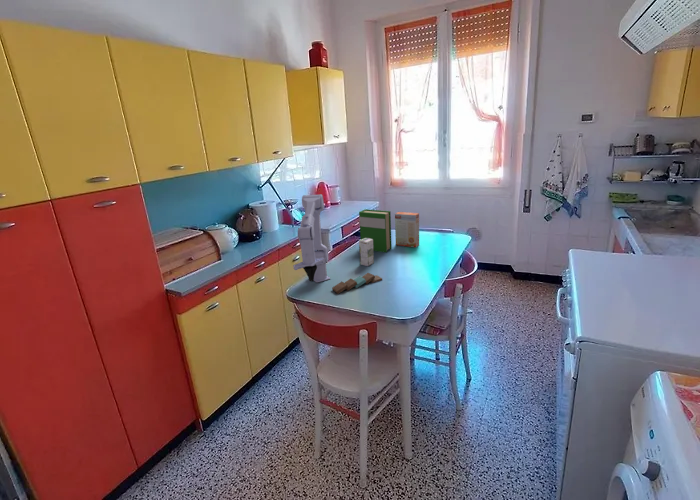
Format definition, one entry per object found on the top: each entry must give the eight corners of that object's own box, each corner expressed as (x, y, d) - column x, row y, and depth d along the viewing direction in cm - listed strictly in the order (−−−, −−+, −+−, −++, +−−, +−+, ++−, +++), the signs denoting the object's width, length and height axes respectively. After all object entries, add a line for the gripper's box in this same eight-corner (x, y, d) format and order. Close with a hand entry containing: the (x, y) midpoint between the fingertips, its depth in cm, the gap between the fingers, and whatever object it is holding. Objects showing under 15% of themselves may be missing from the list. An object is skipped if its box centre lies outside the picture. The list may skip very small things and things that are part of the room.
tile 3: (365, 281, 180) (374, 275, 182) (359, 278, 183) (367, 272, 186) (366, 284, 180) (375, 277, 183) (360, 281, 184) (368, 275, 187)
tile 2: (346, 288, 174) (356, 281, 176) (341, 285, 178) (351, 278, 180) (347, 291, 175) (357, 284, 177) (342, 287, 179) (352, 280, 181)
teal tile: (351, 284, 181) (360, 278, 183) (356, 288, 177) (366, 281, 179) (350, 282, 181) (359, 275, 183) (355, 285, 177) (365, 279, 179)
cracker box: (419, 245, 230) (419, 212, 223) (416, 248, 225) (415, 215, 218) (399, 242, 237) (398, 211, 230) (395, 245, 233) (394, 213, 226)
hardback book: (391, 248, 227) (390, 211, 219) (386, 252, 221) (384, 214, 213) (367, 245, 236) (365, 209, 228) (361, 249, 231) (358, 212, 223)
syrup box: (365, 261, 210) (364, 237, 205) (374, 263, 206) (373, 238, 201) (359, 264, 206) (358, 240, 201) (368, 266, 202) (366, 241, 197)
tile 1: (336, 291, 172) (346, 284, 174) (331, 287, 176) (341, 281, 178) (337, 294, 173) (348, 287, 175) (332, 290, 177) (342, 283, 179)
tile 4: (372, 281, 181) (382, 278, 184) (366, 278, 185) (376, 275, 188) (372, 284, 182) (382, 281, 184) (367, 280, 186) (376, 277, 188)
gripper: (296, 258, 155) (299, 287, 160) (326, 251, 162) (329, 279, 166) (290, 254, 161) (293, 282, 166) (320, 247, 168) (322, 274, 172)
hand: (311, 280), depth 166 cm, fingers closed
